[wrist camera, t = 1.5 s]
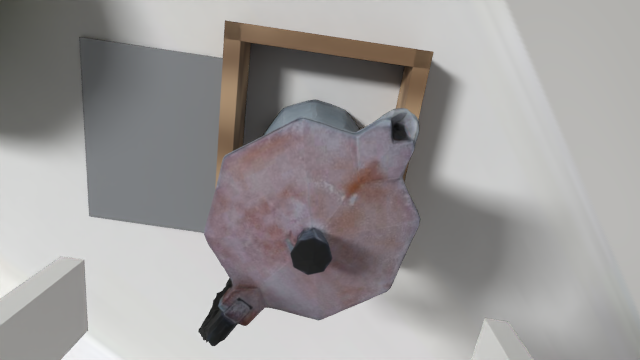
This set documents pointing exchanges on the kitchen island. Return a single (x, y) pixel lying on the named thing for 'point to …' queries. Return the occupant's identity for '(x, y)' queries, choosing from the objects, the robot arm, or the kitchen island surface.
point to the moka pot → (311, 215)
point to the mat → (150, 133)
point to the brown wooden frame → (245, 34)
